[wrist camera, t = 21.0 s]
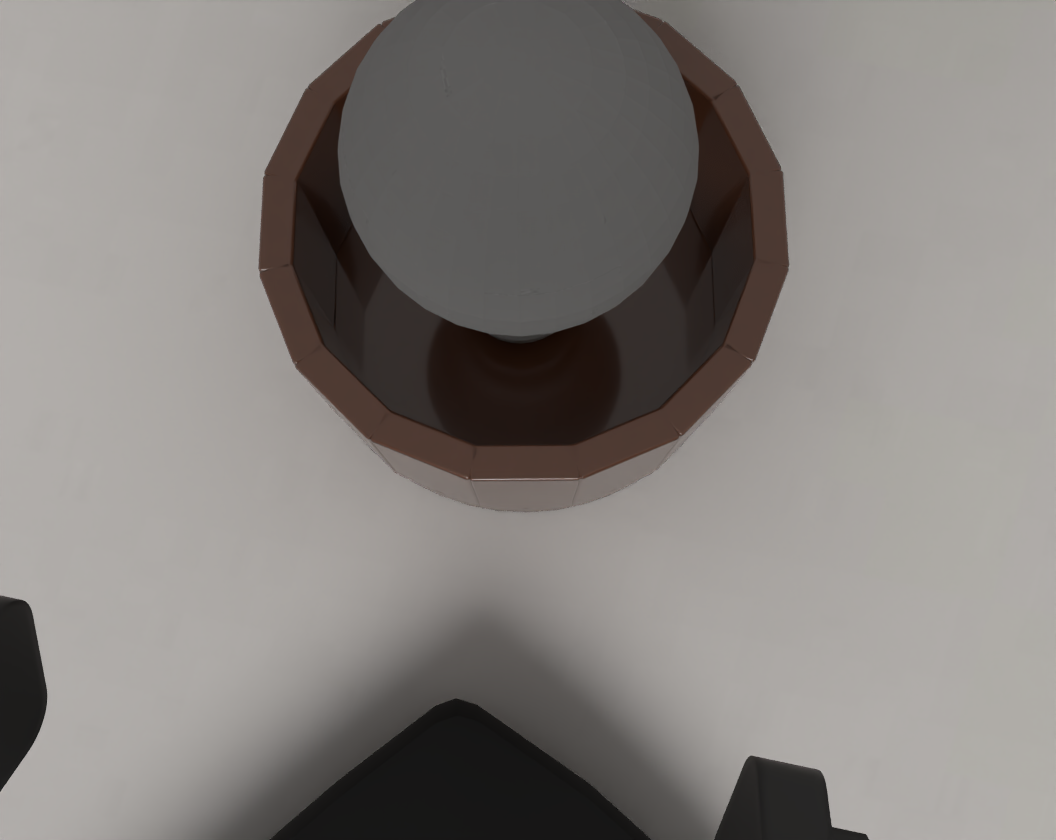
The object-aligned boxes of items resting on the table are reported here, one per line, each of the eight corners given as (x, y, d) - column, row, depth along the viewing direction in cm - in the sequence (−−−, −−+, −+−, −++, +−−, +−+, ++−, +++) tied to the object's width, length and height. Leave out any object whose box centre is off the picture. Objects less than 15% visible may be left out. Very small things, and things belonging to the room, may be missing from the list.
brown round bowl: (630, 53, 26) (654, -83, 21) (808, 411, 24) (879, 354, 19) (254, 198, 25) (187, 92, 20) (405, 581, 23) (371, 568, 18)
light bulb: (524, 472, 23) (519, 351, 13) (344, 298, 24) (213, 62, 14) (700, 293, 24) (819, 54, 14) (519, 133, 25) (513, -199, 15)
